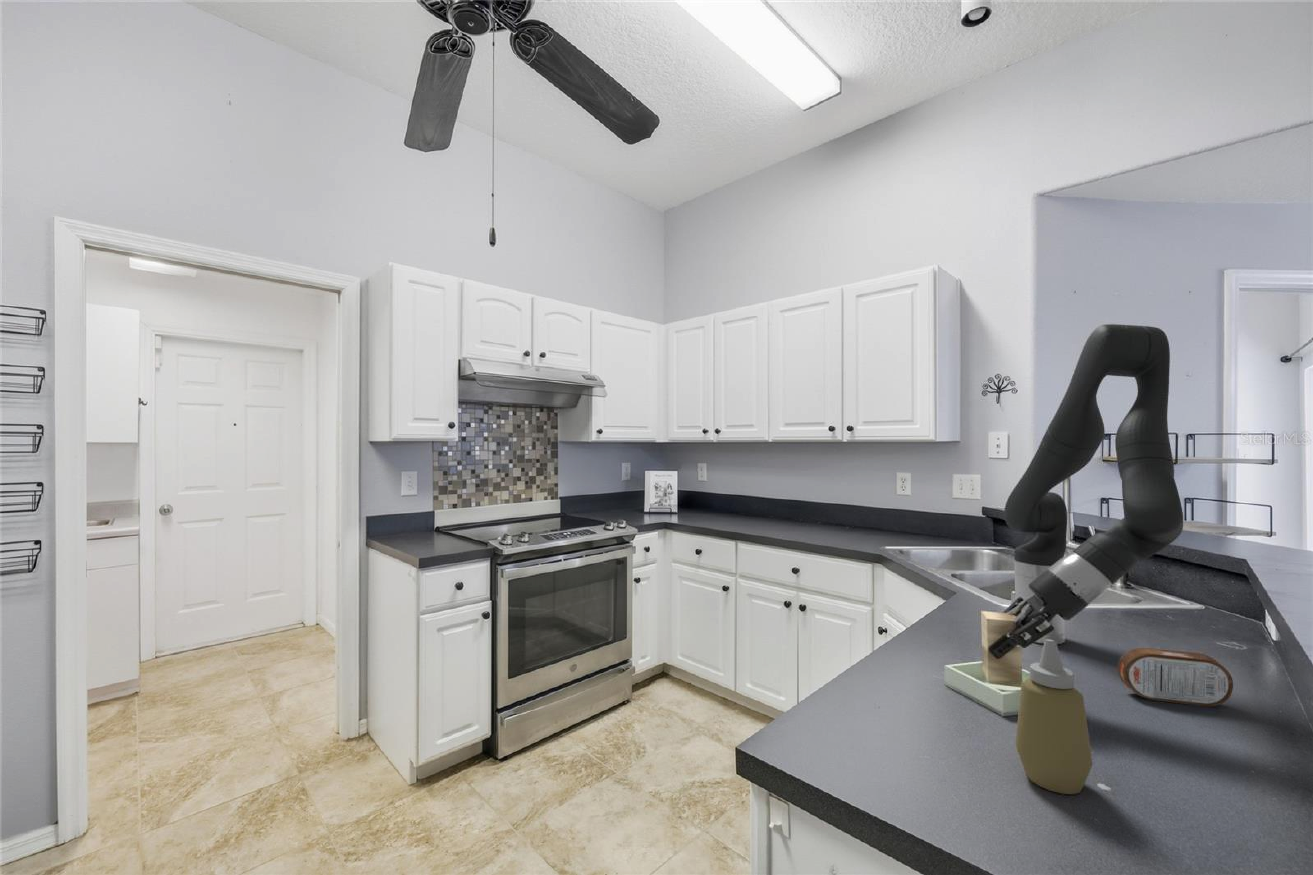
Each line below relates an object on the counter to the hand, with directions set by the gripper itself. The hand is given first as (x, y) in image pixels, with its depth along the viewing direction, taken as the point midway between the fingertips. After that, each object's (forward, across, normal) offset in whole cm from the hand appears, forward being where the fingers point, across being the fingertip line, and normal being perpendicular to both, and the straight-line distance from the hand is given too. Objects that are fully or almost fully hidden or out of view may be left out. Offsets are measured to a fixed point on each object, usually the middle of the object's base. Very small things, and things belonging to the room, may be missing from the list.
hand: (989, 648), depth 97 cm
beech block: (+2, 0, +5) cm, 5 cm away
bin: (+4, 0, +7) cm, 8 cm away
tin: (-15, -8, +26) cm, 31 cm away
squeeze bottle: (+4, +26, +7) cm, 28 cm away
